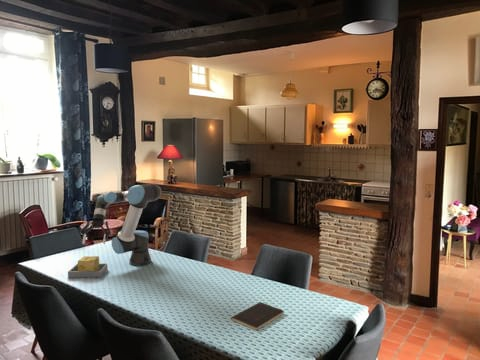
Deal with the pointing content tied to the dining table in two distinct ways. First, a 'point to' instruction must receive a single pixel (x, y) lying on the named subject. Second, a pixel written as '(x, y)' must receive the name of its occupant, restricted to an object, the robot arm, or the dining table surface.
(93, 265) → the cheese
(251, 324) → the hardcover book
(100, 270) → the bin
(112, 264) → the dining table surface
